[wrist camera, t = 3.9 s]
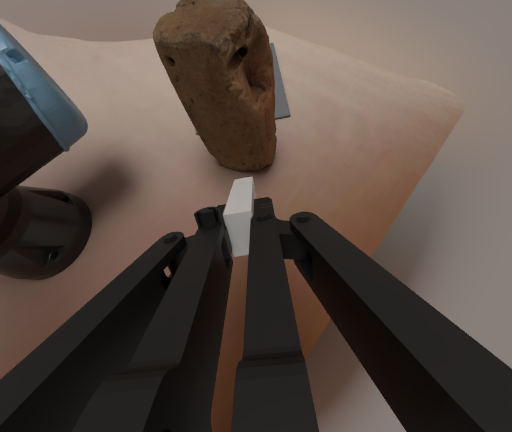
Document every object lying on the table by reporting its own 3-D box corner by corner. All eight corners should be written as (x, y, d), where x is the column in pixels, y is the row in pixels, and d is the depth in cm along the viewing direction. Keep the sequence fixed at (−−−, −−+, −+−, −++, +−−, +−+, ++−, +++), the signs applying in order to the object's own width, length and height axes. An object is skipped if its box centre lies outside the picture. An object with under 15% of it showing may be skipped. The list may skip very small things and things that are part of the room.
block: (211, 165, 36) (133, 34, 17) (227, 131, 37) (173, -20, 19) (268, 180, 33) (252, 51, 14) (282, 144, 35) (284, -13, 16)
